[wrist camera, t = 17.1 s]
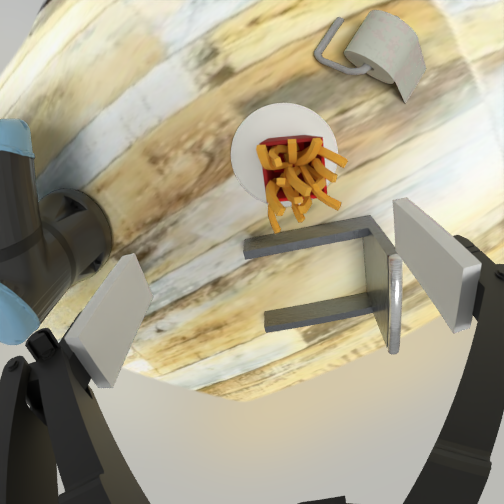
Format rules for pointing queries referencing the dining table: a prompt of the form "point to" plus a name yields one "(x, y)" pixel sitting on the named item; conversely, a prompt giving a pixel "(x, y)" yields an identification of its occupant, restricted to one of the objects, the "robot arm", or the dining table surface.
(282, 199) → the french fries
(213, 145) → the dining table surface
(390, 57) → the toilet paper roll
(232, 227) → the dining table surface
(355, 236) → the gray bracket
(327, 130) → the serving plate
